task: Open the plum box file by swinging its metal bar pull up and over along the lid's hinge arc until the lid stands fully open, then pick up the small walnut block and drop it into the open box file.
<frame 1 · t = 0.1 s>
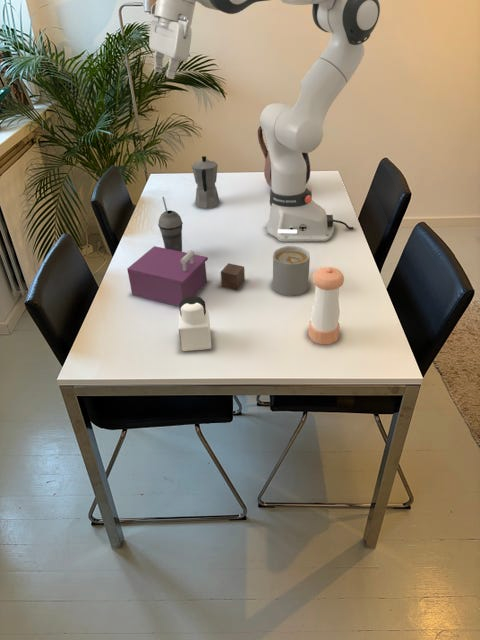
hand: (163, 75, 126), 52 cm above the table, tool tilted 20°, fingers open, 8 cm apart
ceramic pitcher: (282, 190, 197), on the table
block: (233, 284, 143), on the table
coffeepot: (207, 205, 188), on the table
box file: (170, 288, 142), on the table
salt shaker: (323, 335, 123), on the table
box file lid: (167, 257, 136), point 10 cm above the table, hinge at 0.0°
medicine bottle: (196, 342, 123), on the table
coffee mug: (290, 283, 143), on the table
beverage cup: (174, 258, 157), on the table
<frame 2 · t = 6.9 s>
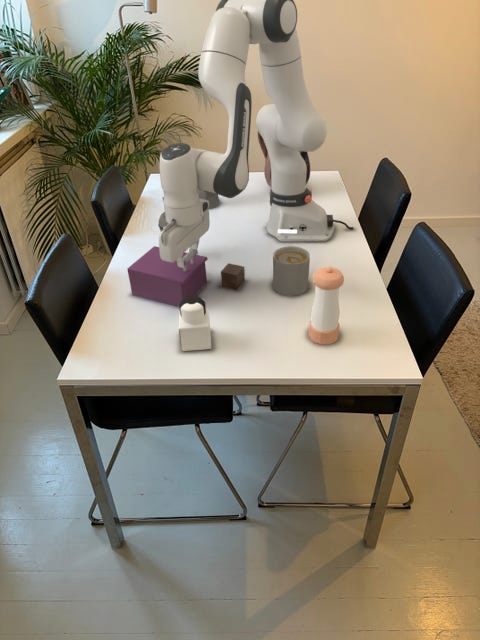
hand: (188, 260, 133), 11 cm above the table, tool pointing down, fingers closed on box file lid, 5 cm apart
box file lid: (167, 257, 136), point 10 cm above the table, hinge at 0.0°, touching gripper
everything else where it was.
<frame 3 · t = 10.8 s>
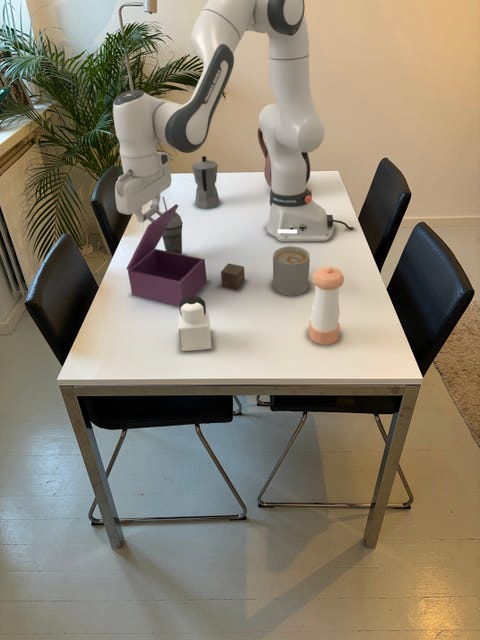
hand: (149, 216, 131), 22 cm above the table, tool pointing down, fingers closed on box file lid, 5 cm apart
box file lid: (146, 233, 134), point 17 cm above the table, hinge at 56.7°, touching gripper
everything else where it was.
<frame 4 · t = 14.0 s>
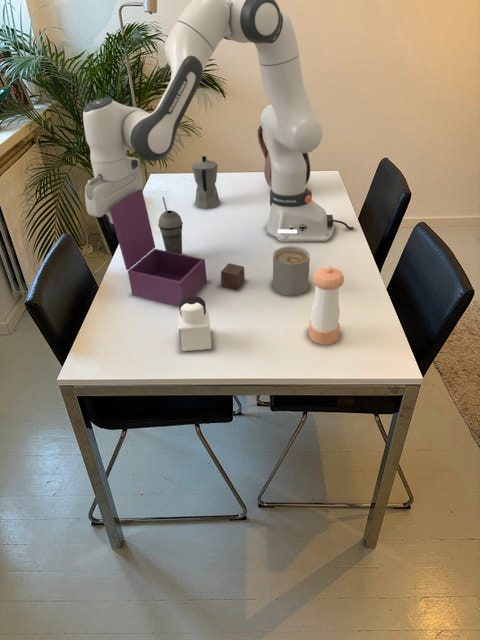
hand: (120, 218, 135), 19 cm above the table, tool pointing down, fingers open, 4 cm apart
box file lid: (128, 228, 136), point 17 cm above the table, hinge at 94.8°
everything else where it was.
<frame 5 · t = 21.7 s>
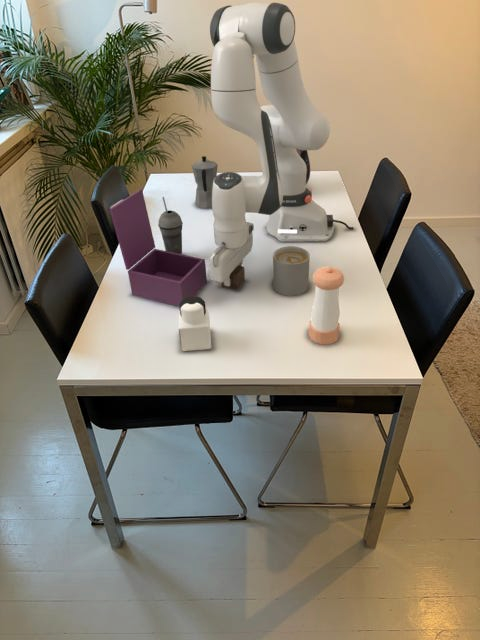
hand: (232, 279, 142), 2 cm above the table, tool pointing down, fingers closed on block, 5 cm apart
block: (233, 284, 143), on the table, touching gripper
everything else where it was.
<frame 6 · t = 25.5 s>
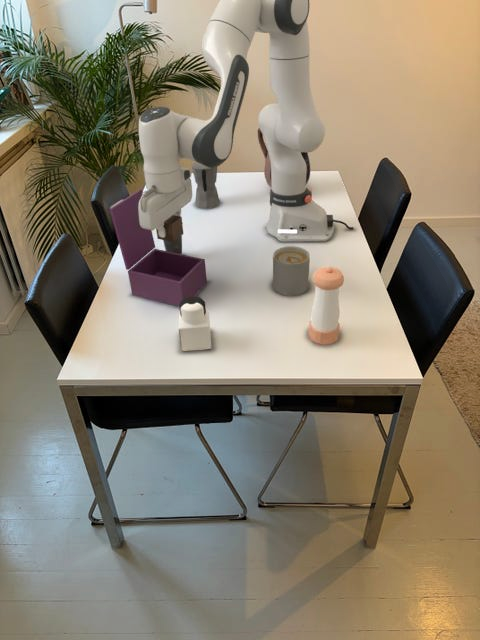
hand: (169, 230, 131), 18 cm above the table, tool pointing down, fingers closed on block, 5 cm apart
block: (170, 236, 132), point 17 cm above the table, touching gripper
everything else where it was.
when the fingers open (4 cm above the table, at t = 30.5 s): block stays where it is, resting on box file.
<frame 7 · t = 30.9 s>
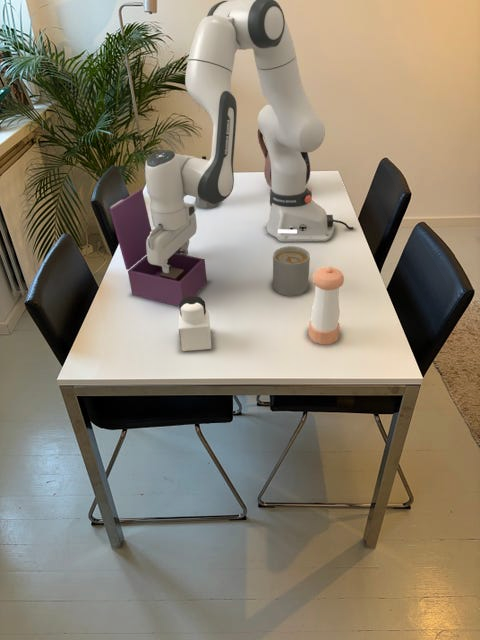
hand: (176, 263, 137), 8 cm above the table, tool pointing down, fingers open, 8 cm apart
block: (174, 287, 141), point 1 cm above the table, touching box file
everything else where it was.
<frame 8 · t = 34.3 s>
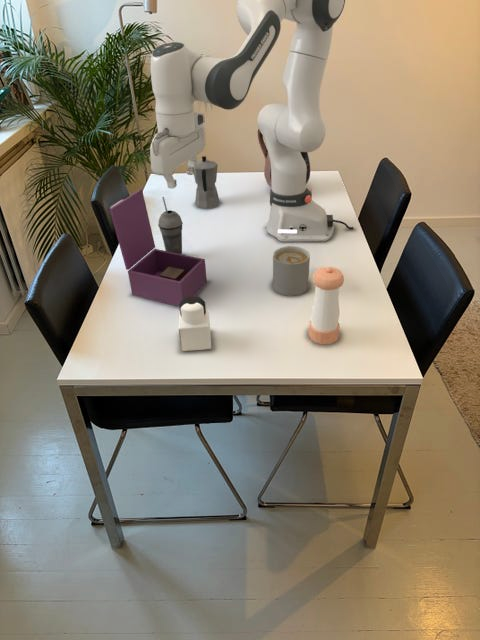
hand: (182, 180, 125), 31 cm above the table, tool pointing down, fingers open, 8 cm apart
nothing on the table moved.
at the end: box file lid at +95° (first picture: +0°); block inside the target area in the box file (1.4 cm from its centre), point 0.8 cm above the box file's base; the gripper is holding nothing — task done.
